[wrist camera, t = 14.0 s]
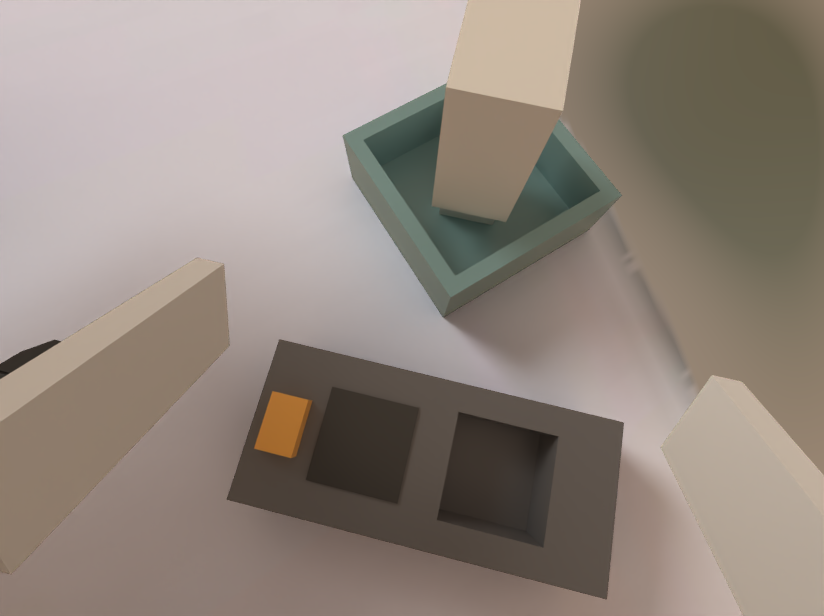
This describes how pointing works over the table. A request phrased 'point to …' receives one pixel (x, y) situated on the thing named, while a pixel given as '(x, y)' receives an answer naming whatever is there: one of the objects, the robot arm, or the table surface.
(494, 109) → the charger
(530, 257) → the tray
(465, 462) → the power strip
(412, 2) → the table surface
